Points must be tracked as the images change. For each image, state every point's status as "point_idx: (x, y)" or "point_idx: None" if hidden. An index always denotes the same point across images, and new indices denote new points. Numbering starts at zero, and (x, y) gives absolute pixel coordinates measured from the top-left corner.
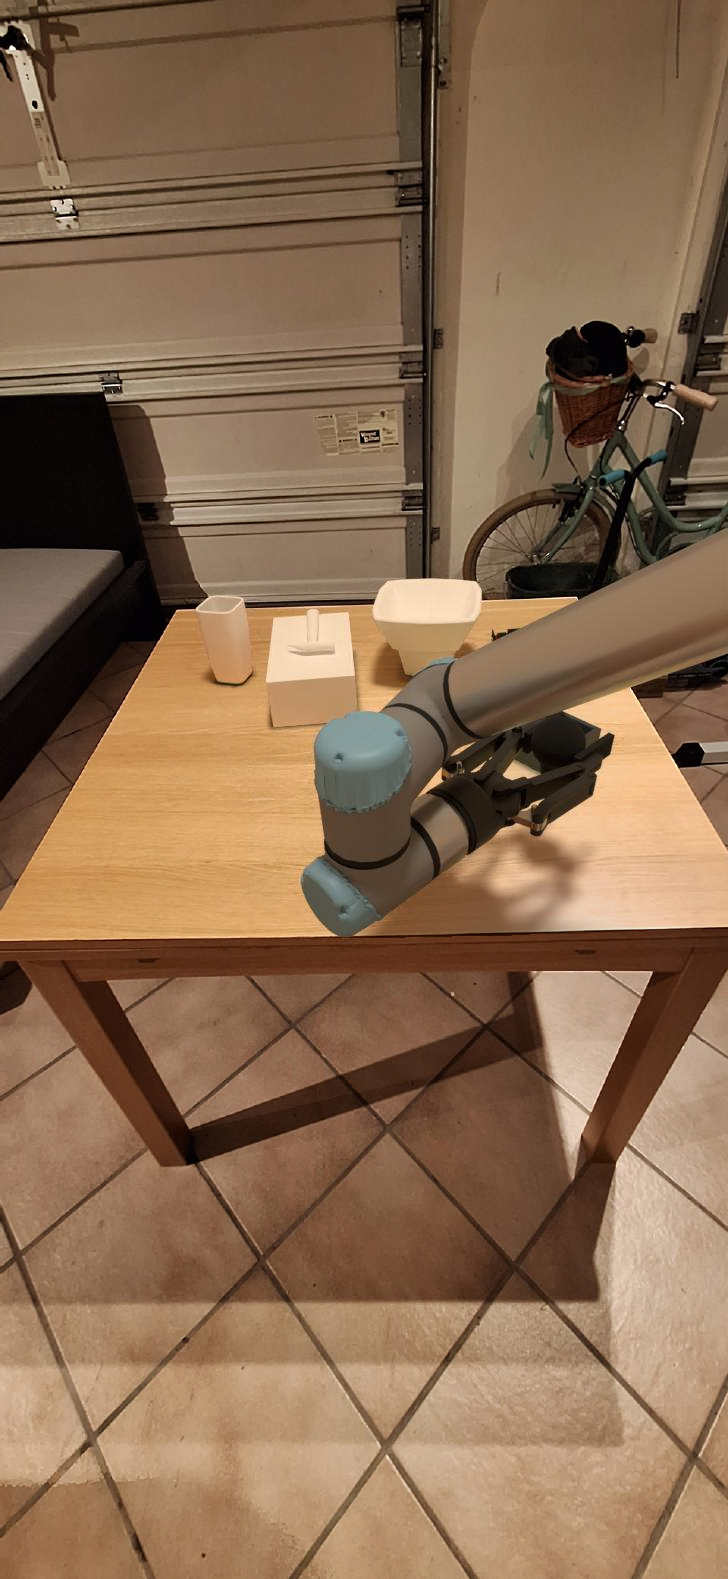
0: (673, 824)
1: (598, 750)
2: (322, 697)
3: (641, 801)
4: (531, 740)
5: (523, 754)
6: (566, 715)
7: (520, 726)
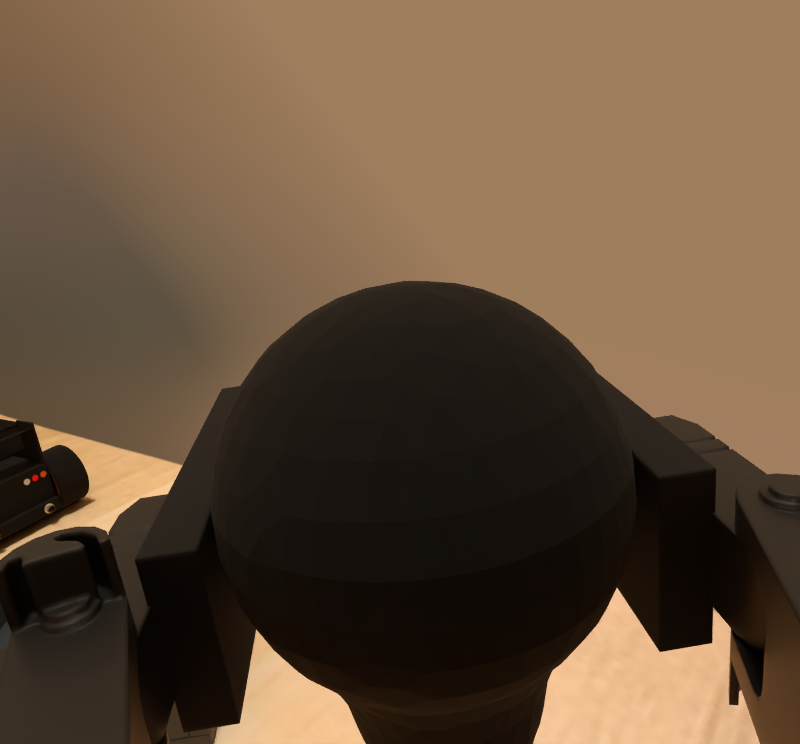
0: (599, 621)
1: None
2: None
3: None
4: (253, 578)
5: None
6: None
7: (73, 529)
